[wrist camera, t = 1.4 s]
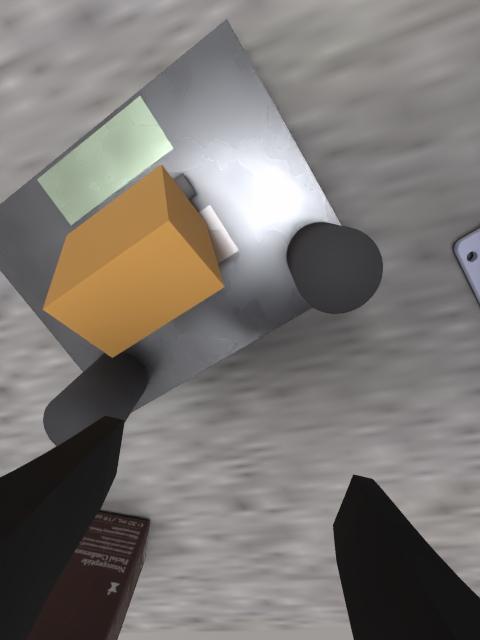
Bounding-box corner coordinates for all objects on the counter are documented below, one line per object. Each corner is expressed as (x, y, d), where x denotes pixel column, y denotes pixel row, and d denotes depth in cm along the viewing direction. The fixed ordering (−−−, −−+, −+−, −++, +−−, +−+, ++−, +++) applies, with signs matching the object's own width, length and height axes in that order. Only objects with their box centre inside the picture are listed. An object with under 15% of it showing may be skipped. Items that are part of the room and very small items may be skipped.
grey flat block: (355, 266, 19) (369, 274, 17) (136, 395, 22) (120, 419, 20) (232, 46, 17) (226, 17, 14) (3, 228, 20) (-34, 230, 17)
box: (151, 514, 25) (58, 772, 14) (145, 562, 27) (54, 832, 15) (66, 497, 25) (-99, 740, 14) (64, 546, 27) (-88, 804, 15)
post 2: (363, 265, 17) (398, 285, 12) (306, 298, 17) (320, 328, 13) (332, 208, 16) (356, 208, 12) (274, 245, 17) (278, 258, 12)
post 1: (158, 386, 19) (128, 437, 15) (115, 411, 20) (74, 467, 16) (124, 341, 19) (82, 381, 14) (80, 368, 19) (28, 415, 15)
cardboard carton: (207, 205, 17) (232, 282, 12) (115, 270, 18) (106, 361, 13) (166, 149, 15) (177, 214, 10) (66, 225, 16) (35, 314, 12)
